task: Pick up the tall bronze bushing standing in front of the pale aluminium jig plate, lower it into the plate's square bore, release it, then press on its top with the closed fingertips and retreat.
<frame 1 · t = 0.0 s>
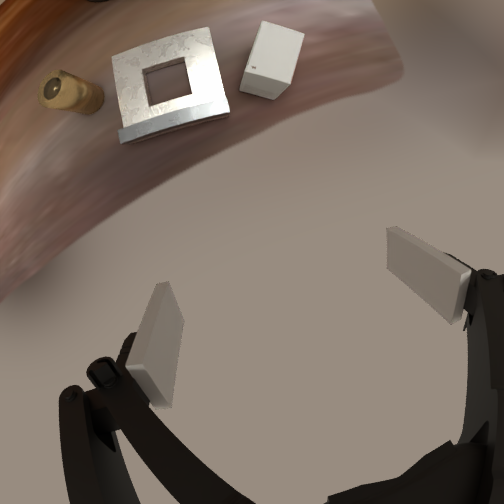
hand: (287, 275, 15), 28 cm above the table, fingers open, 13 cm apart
bushing: (91, 99, 32), on the table
jig: (169, 84, 34), on the table
small box: (262, 73, 35), on the table
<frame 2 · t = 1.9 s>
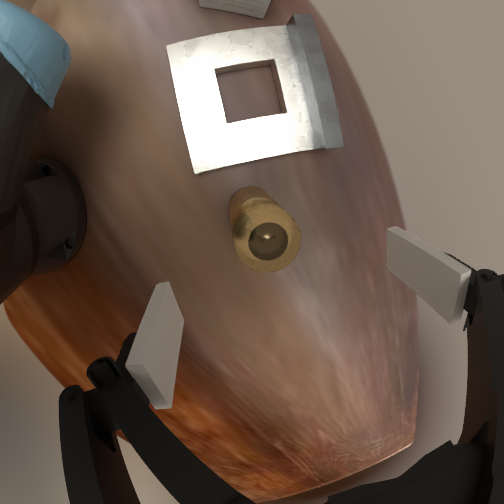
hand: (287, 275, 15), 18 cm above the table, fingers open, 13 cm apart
bushing: (250, 207, 31), on the table
jig: (248, 94, 27), on the table
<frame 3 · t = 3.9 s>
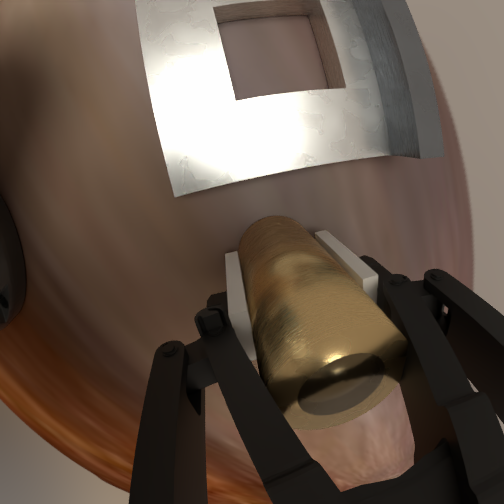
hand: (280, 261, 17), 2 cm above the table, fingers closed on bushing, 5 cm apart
bushing: (275, 251, 19), on the table, touching gripper
jig: (273, 55, 14), on the table
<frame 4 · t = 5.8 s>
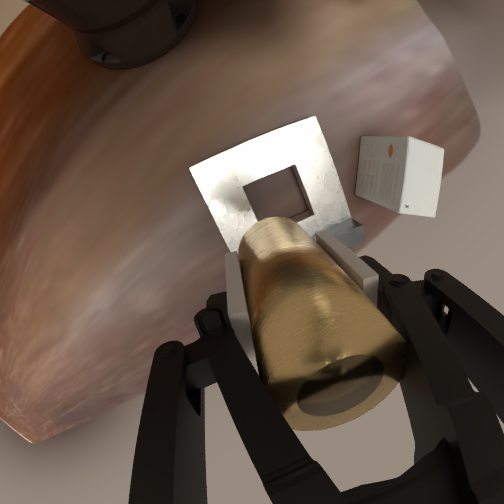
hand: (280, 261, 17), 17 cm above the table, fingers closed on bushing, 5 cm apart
bushing: (274, 252, 19), point 15 cm above the table, touching gripper
jig: (275, 196, 33), on the table
small box: (373, 168, 33), on the table
when the fingers open (4 cm above the table, at t = 8.0 s): bushing stays where it is, resting in jig.
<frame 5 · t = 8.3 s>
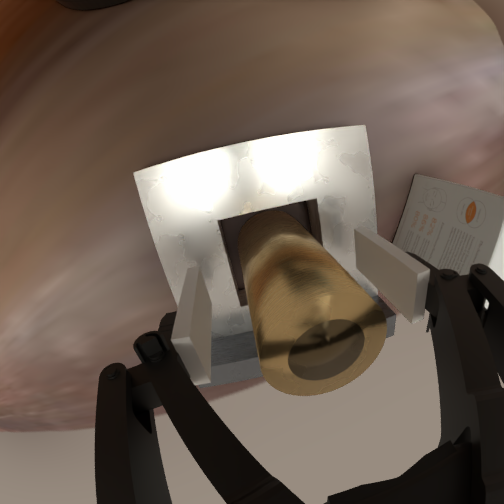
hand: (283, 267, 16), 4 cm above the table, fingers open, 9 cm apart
bushing: (271, 243, 20), resting in jig
jig: (270, 242, 20), on the table
small box: (419, 222, 21), on the table
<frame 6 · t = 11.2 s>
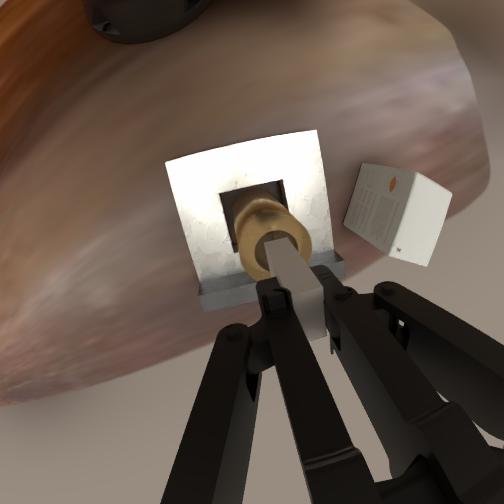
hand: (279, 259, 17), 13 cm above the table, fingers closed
bushing: (255, 211, 30), resting in jig
jig: (254, 211, 30), on the table
small box: (369, 199, 31), on the table
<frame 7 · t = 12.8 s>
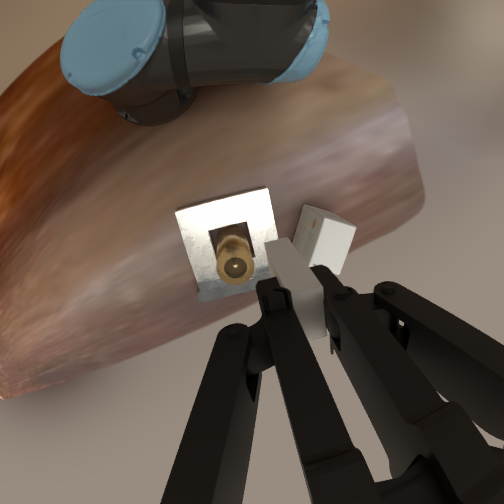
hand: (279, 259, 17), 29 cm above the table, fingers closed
bushing: (231, 239, 47), resting in jig
jig: (231, 239, 47), on the table
small box: (310, 228, 48), on the table
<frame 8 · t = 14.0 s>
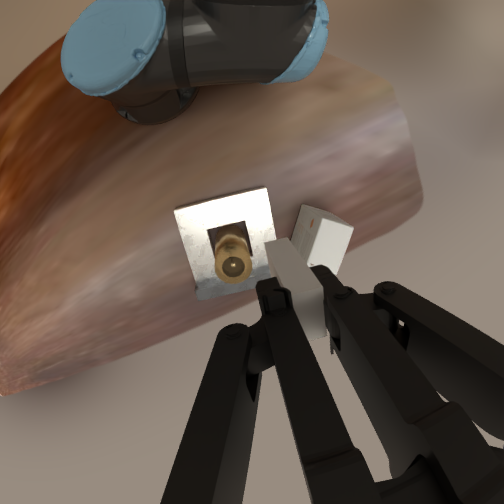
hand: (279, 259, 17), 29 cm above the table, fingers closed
bushing: (230, 238, 47), resting in jig
jig: (229, 238, 47), on the table
small box: (308, 227, 48), on the table
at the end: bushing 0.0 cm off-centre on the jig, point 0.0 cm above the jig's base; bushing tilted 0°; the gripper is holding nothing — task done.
